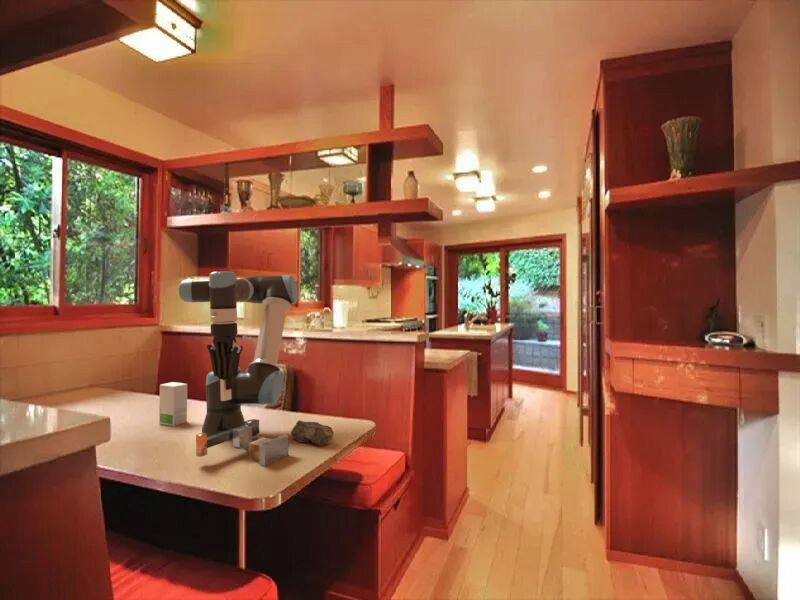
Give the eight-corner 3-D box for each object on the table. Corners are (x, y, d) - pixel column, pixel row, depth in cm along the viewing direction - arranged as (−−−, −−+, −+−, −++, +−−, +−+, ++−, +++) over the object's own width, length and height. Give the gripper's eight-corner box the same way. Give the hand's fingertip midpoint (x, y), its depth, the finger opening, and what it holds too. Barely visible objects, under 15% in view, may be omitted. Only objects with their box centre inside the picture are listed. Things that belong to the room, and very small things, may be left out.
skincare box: (158, 424, 169) (158, 384, 169) (173, 419, 176) (172, 381, 175) (174, 426, 166) (173, 386, 166) (188, 421, 172) (187, 382, 172)
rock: (342, 426, 148) (324, 427, 140) (339, 447, 147) (320, 448, 138) (304, 418, 156) (285, 418, 148) (300, 438, 155) (281, 438, 147)
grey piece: (214, 455, 135) (214, 436, 135) (252, 439, 150) (252, 422, 149) (265, 466, 126) (264, 445, 126) (300, 448, 140) (300, 430, 140)
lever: (192, 455, 127) (192, 434, 127) (253, 433, 147) (252, 415, 147) (208, 459, 124) (208, 438, 124) (268, 436, 144) (267, 418, 144)
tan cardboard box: (248, 459, 132) (248, 443, 132) (263, 453, 137) (263, 437, 137) (260, 462, 129) (260, 445, 129) (275, 455, 135) (275, 439, 135)
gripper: (198, 323, 130) (201, 400, 131) (229, 324, 124) (231, 405, 125) (219, 321, 137) (221, 394, 138) (249, 322, 131) (251, 399, 132)
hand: (226, 399), depth 132 cm, fingers closed
